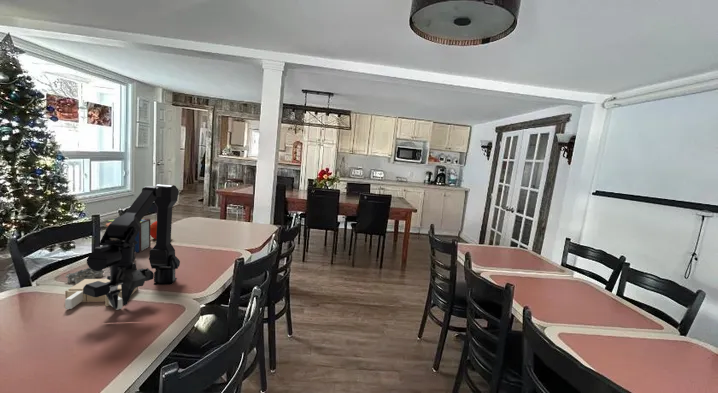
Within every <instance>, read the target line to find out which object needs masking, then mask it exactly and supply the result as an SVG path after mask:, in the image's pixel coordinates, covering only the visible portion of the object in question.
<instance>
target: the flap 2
mask: <svg viewBox="0 0 718 393" xmlns="http://www.w3.org/2000/svg"><path fill="white" fill-rule="evenodd" d="M104 303H105V305H104V306H105V307H109V306H111V307H112V308H113V306H112V304H111V303H110V301H109V299H108V298H107V296H106V295H105V301H104ZM123 306H124V305H123V301H122V291H121V292H120V293H119V294H118V307H117V309H115V310H117V311H118V310H120V309H123V308H124V307H123Z"/></svg>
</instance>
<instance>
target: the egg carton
mask: <svg viewBox="0 0 718 393" xmlns="http://www.w3.org/2000/svg"><path fill="white" fill-rule="evenodd" d="M105 272H106V270H105V269H103V270H100V271H94V270H92V269H91V268H89V267H87V268H84V269H80V270H78V271H75V272H71V273H67V274H66V276H65V277H64V278H67V283H68V284H70V283H74V284H75V285H76V284H78V283H79V282H81V281H83V280H84V279H97V278H102V277H103V275H104V273H105Z"/></svg>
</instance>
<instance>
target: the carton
mask: <svg viewBox="0 0 718 393" xmlns="http://www.w3.org/2000/svg"><path fill="white" fill-rule="evenodd" d="M96 281H100V282H103V283H107V282H110V280H108V279H107V278H94V279H84V280H83V281H81V282H79V283H78V284H75V285H73V286H71V287H70V288H68V290H67V291H82V290H83V288H84V286H85V285H86V284H89V283H93V282H96ZM118 290H122V289H121V285H118ZM137 290H139V287H136V288H135V289H134V291H133V292H132V294H131V296H132V295H133V294H134V293H135V292H136V291H137ZM86 302H87V303H92V302H94V303H95V302H105V295H103V296H100V297H92V296H89V295H87V301H86Z"/></svg>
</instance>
